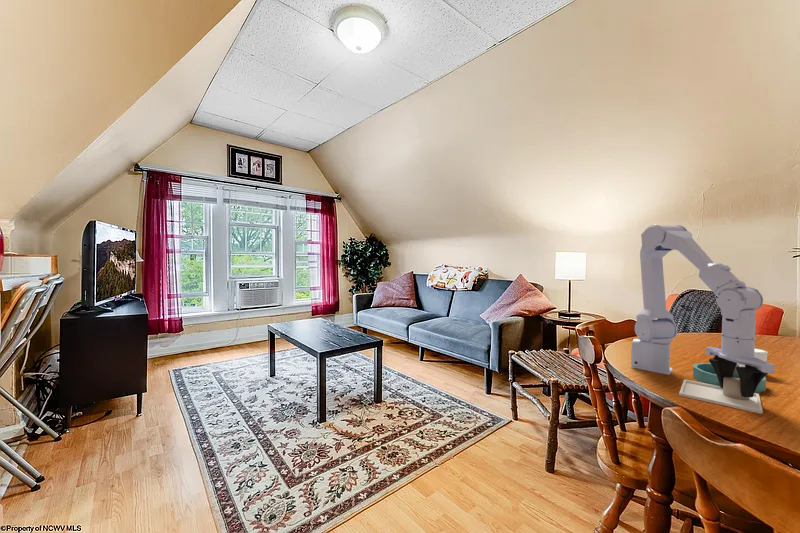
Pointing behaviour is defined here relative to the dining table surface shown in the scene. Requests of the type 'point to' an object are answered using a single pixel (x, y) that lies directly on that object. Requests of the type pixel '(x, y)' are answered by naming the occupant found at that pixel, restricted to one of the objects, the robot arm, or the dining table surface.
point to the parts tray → (718, 396)
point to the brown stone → (732, 388)
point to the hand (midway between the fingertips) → (736, 392)
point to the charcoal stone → (735, 372)
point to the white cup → (758, 355)
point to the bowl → (708, 376)
